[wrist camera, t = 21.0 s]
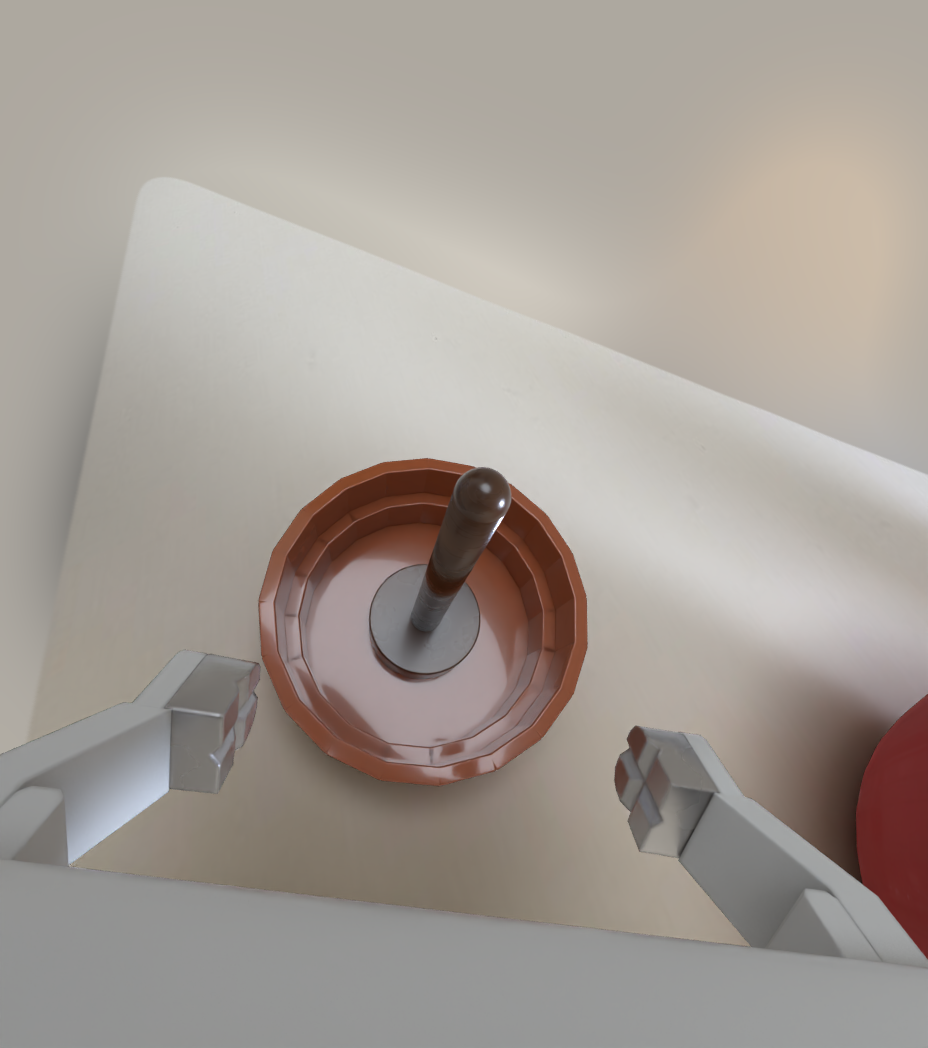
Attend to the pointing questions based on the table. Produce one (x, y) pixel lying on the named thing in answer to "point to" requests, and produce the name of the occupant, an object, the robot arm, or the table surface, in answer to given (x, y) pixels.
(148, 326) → the table surface
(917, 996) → the robot arm
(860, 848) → the mixing bowl
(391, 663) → the masher
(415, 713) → the bowl
